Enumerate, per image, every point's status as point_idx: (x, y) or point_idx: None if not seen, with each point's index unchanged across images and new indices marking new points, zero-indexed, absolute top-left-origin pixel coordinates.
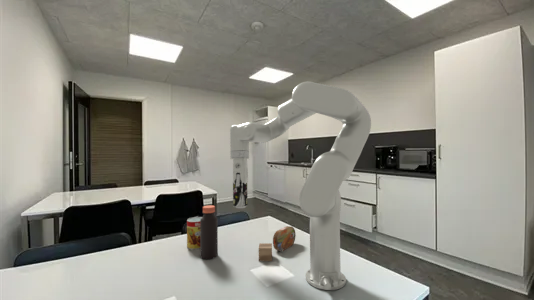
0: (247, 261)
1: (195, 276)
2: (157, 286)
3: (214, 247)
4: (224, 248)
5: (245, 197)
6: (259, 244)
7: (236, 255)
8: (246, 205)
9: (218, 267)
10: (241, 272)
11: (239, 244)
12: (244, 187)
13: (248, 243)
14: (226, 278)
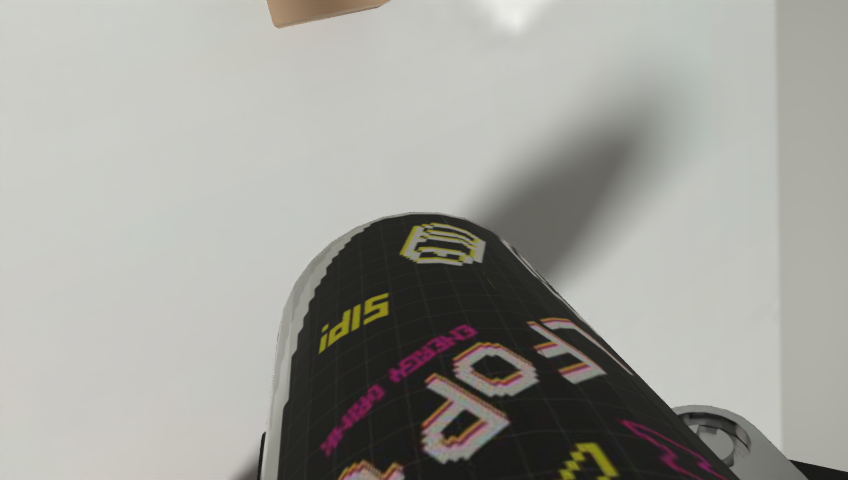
0: (401, 93)
1: (627, 310)
2: None
3: None
4: (229, 349)
5: (534, 285)
6: (301, 17)
7: (325, 210)
8: (448, 217)
9: (517, 245)
10: (555, 78)
11: (106, 275)
12: (724, 478)
13: (51, 209)
14: (630, 140)
